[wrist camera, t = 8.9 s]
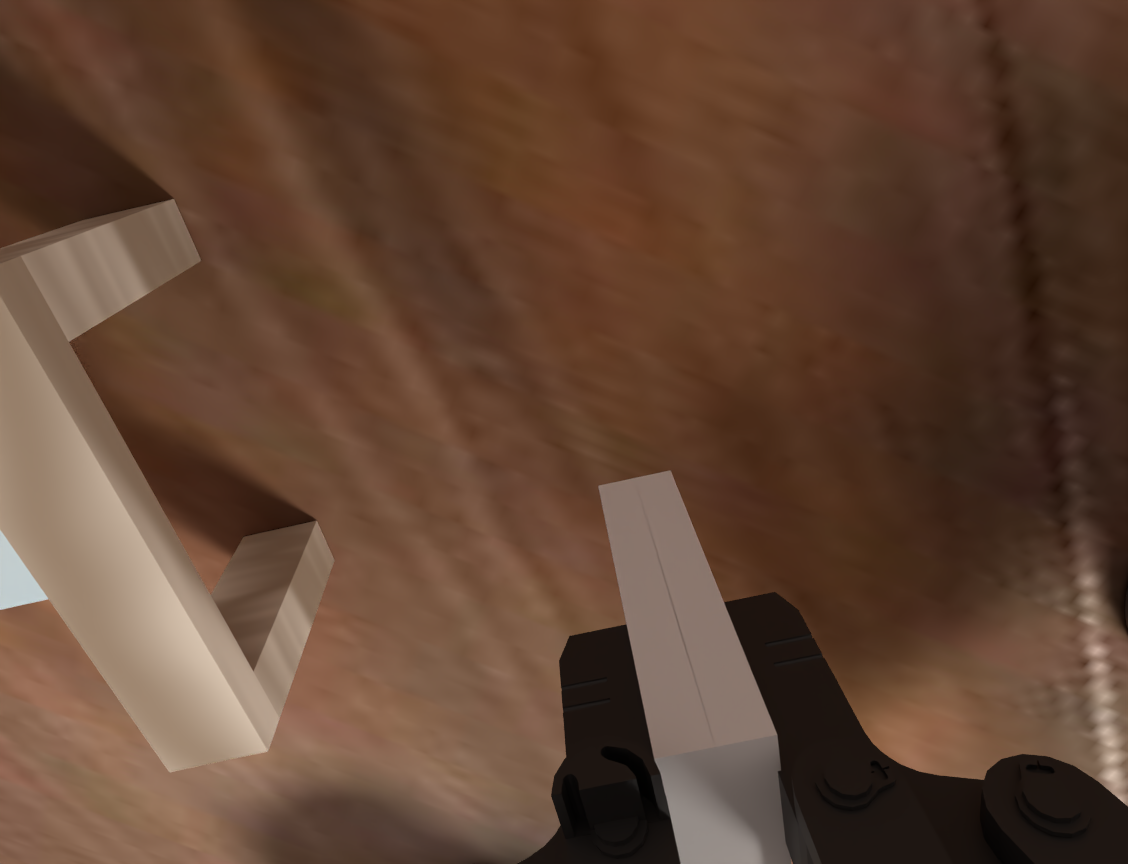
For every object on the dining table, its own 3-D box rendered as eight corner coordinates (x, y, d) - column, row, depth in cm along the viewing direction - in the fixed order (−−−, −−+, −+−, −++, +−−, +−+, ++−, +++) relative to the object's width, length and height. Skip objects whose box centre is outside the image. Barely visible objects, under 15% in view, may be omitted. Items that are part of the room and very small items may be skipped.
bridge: (173, 198, 22) (-16, 269, 14) (334, 560, 29) (268, 751, 21) (82, 220, 23) (-158, 302, 14) (263, 576, 29) (169, 772, 21)
